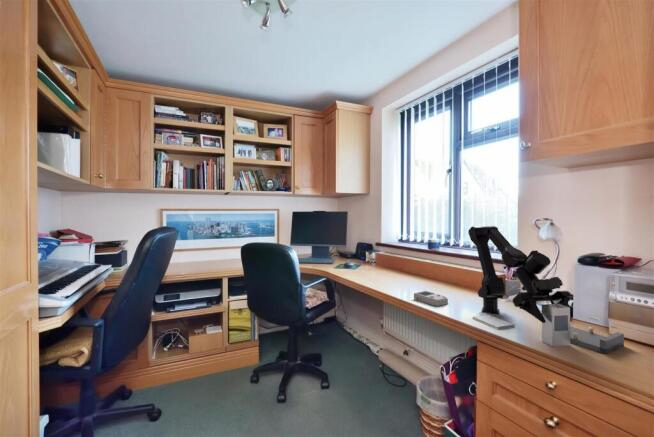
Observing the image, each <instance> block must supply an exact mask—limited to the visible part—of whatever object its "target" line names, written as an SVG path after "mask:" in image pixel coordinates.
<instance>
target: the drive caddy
mask: <svg viewBox="0 0 654 437" xmlns="http://www.w3.org/2000/svg"><path fill="white" fill-rule="evenodd" d="M541 313H542V315H543V317H544V318H545V321H546V322H545V323H542V322H541V342H543V343H545V344H546V345H548V346H550V347H570V346H571V343H570V326H571V321H570V316H571V307H569V306H568V307H567V306H564V305H561V304H549V303H547V304H544V303H543V304H541Z"/></svg>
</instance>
